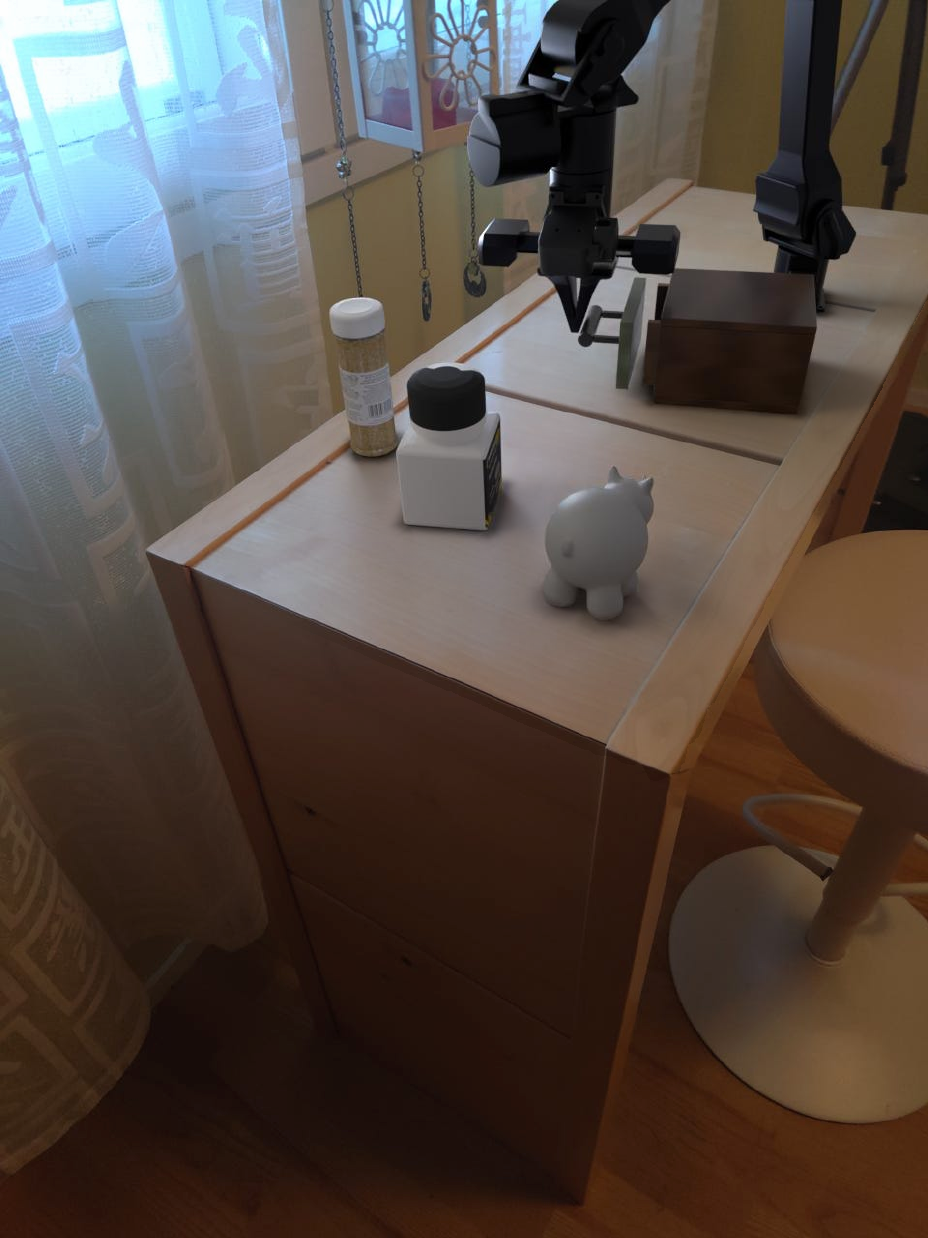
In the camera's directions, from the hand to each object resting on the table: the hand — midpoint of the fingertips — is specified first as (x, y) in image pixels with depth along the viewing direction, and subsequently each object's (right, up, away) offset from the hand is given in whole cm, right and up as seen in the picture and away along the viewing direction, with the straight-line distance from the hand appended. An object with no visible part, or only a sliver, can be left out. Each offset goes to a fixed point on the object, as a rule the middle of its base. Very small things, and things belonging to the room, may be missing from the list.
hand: (575, 331), depth 91 cm
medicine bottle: (-12, -20, -15) cm, 28 cm away
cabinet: (+15, -5, -1) cm, 16 cm away
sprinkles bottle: (-20, -13, -7) cm, 25 cm away
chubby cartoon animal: (0, -26, -24) cm, 35 cm away
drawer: (+9, -4, 0) cm, 10 cm away
